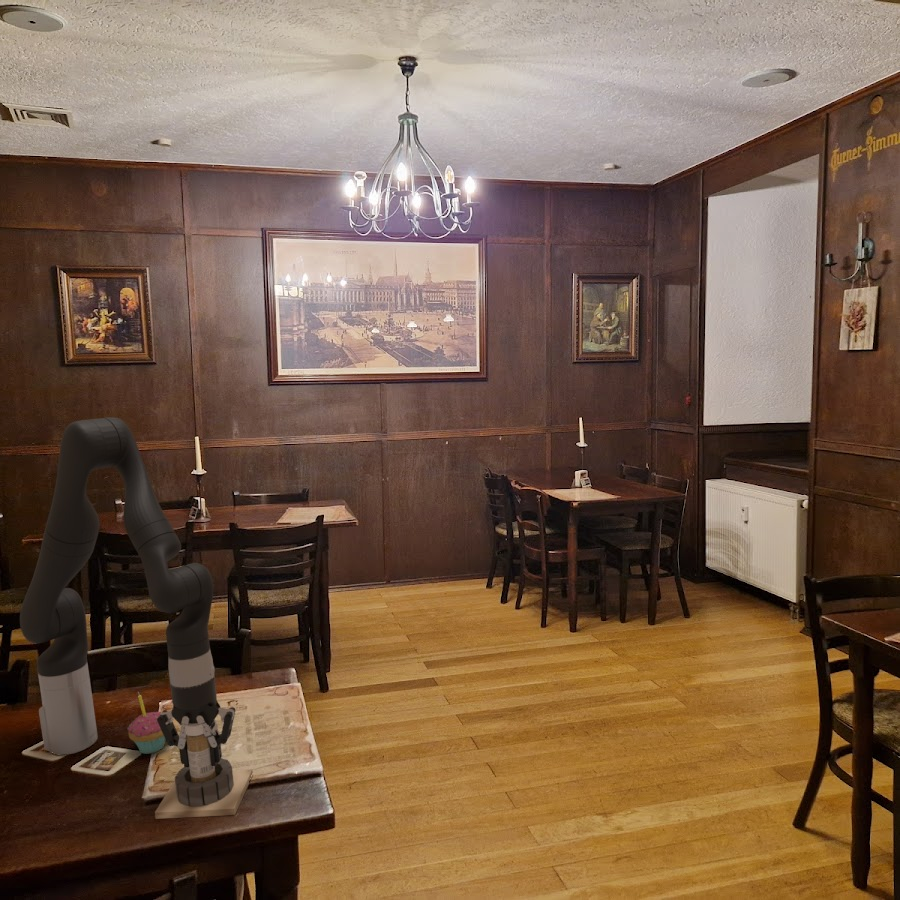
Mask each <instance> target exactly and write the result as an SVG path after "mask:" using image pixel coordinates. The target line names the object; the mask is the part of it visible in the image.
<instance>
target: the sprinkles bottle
mask: <svg viewBox="0 0 900 900" xmlns="http://www.w3.org/2000/svg"><path fill="white" fill-rule="evenodd" d="M204 727H205V726H204ZM184 728H185V731H186V740H187V751H188V759H189V768H190V775H191V782H192V783H203V782H206V781H209V780H212V779H214V778H215V777H216V773H215V766H212V764H211V755H210V747H211V745H210V743H209V741H208V739H207V738H206V737H205V735H204V733H203V726H202V725H199V724H198V723H189V725H187V726H185V727H184ZM210 728H211V726H210Z"/></svg>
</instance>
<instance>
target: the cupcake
mask: <svg viewBox="0 0 900 900" xmlns="http://www.w3.org/2000/svg"><path fill="white" fill-rule="evenodd" d="M137 694H138V696H137V698H138V702H139V706H140V709H141V715H138V716H137V717H135V718H134V720H132V721H131V723H130V724H128V727H127V731H128V738H129V739H130V740H131V741H133V742H134V743H135V745H136V746H137V748H138V750H139V752H140V753H142V754H144V755H145V754H148V755H150V754H154V753H157V752H159V751H160V749H161V750H162V749H163V748H164V747H165V742H166V739H165V737H164V735H163V733H162V731H161V728H160V726H159V724H158V722H157V718H158V717H159V716H160V714H161V713H162V711H151V712H146V708H145V705H144V704H145V703H144V701H143V697H142V695H141V694H140V692H139V691H137Z"/></svg>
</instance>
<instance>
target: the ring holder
mask: <svg viewBox="0 0 900 900" xmlns="http://www.w3.org/2000/svg"><path fill="white" fill-rule="evenodd" d="M215 773H216V777H215V778H214V779H212V780H209V781H206V782H203V783H192V782H191V775H190V768H189V767H184V766H183V767H181V768H180V770H178V772H177V774H176V775H175V777H174V781H173V783H172V784H171V786H170V788H169V789H168V791H167V792H166V794H165V795H164V797H163V798H162V800H161V802H160V803H159V805H158V807H157V808H156V810H155V811H154V817H155V819H156V820H157V819H158V820H159V819H161V820H162V819H179V818H181V819H182V818H197V817H198V818H201V817H219V816H221V817H222V816H223V817H224V816H235V815H236V813H237V811H238V809H239V807H240V805H241V802H242V800H243V798H244V796H245V793H246V791H247V789H248V787H249V785H250V783H249V780H250V778H251V775H252V773H254V772H253V769H252V768H250V769H233V766H232V764H231V763H230V761H229V760H228V759H225V758H222V757H221V759H220V761H219V763H218V764H217V765H216V766H215ZM251 779H252V778H251Z"/></svg>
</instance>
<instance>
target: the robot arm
mask: <svg viewBox="0 0 900 900" xmlns="http://www.w3.org/2000/svg"><path fill="white" fill-rule="evenodd" d="M143 460H144V459H143V458H142V455H141V451H140V450H139V447H138V444H137V441H136V439H135V437H134V435H133V432H132V431H131V429H130V427H129V425H128V424H127V423H126V422H125V421H124V420H123V419H121V418H119V417H114V416H112V417H101V418H91V419H82V420H81V419H80V420H77V421H73V422H71V423H69V424H68V425H67V426H66V428H65V429H64V431H63V434H62V437H61V441H60V446H59V454H58V461H57V462H58V464H57V465H58V466H57V473H56V480H55V486H54V492H53V496H52V500H51V506H50V510H49V514H48V516H47V521H46V523H45V529H44V532H43V536H42V541H41V547H40V551H39V556H38V558H37V562H36V566H35V570H34V573H33V577H32V579H31V582H30V584H29V586H28V589H27V592H26V594H25V597H24V599H23V602H22V603H21V604H22V606H21V609H20V614H19V627H20V629H21V630H20V631H21V633H22V636H24V638H25V639H26V640H27V641H28V642H29V643H32V644H41V643H42V644H43V643H46V642H49V641H53V642H52V643H51V645H49V647H47V649H45V650H44V651H43V652H42V653H41V654H40V655H39V656H38V658H37V660H36V669H37V675H38V683H39V687H40V688H39V690H40V697H41V703H42V706H41V707H39V709H38V714H39V722H40V729H41V734H42V741H43V747H44V751H45V750H48V751H51V752H53V753H55V754H67V755H72V754H77V753H79V752H81V751H84V750H86V749H87V748H90V747H91V746H92V745H94V744H95V743H97V740H98V739H99V738H98V729H97V722H96V715H95V714H96V713H95V707H94V700H93V693H92V685H91V677H90V671H89V665H88V658H87V655H88V650H89V642H88V629H87V617H86V610H85V605H84V603H83V599H82V597H81V596H80V594H79V593H78V592H77V591H76V590H74V589H73V588H70V587H67V585H68V584H69V583H70V582H71V581H72V580H73V579H74V578H75V576H76V575H78V573H79V572H80V571H81V570H82V568H83V567H84V566H85V565H86V563H87V562H88V561H89V560H90V558H91V556H92V554H93V552H94V550H95V546H96V543H97V539H98V537H99V532H100V526H101V525H100V524H101V523H100V518H99V516H98V513H97V511H96V509H95V507H94V505H93V504H92V502H91V501H90V499H89V497H88V494H87V484H88V479H89V477H90V474H91V473H92V472H93V471H96V470H102V469H107V468H113V467H114V468H115V469H116V470H117V472H118V473H119V476H120V477H121V478H122V480H123V484H124V505H123V524H124V528H125V530H126V531H125V532H126V533H127V536H128V537H129V540H130V541H131V543H132V545H133V547H134V549H135V550H136V552H137V554H138V556H139V557H140V560H141V562H142V568H143V571H144V575H145V578H146V579H145V580H146V585H147V590H148V594H149V598H150V601H151V602H152V604H153V605H154V606H155V608H156V609H158V610H159V611H161V612H162V613H165V614H172V613H176V612H179V611H181V610H182V611H181V613H180V614H179V615H178V616H177V617H176V618H175V619H173V620H172V621H171V622H170V623H168V625H167V627H166V629H165V637H166V639H165V640H166V647H167V654H168V667H167V668H168V674H169V675H168V677H169V684H170V693H171V694H170V695H171V700H172V701H171V702H172V708H171V710H166V709H165V710H162V711H161V714H160V716H159V717H158V718H157V722H158V724H159V726H160V728H161V731H162V733H163V735H164V737H165V742H166V745H167V746H169V747H177V748H178V749H179V759H180V763H181V764H182V765H183V767H189V759H188V751H187V740H186V731H185V728H184V727H185V726H187V725H189V723H198V724H199V725H202V726H203V733H204V735H205V737H206V738H207V739H208V741H209V743H210V745H211V747H210V755H211V764H212V766H216V765H217V764H218V763H219V761H220V759H221V758H222V756H223V753H222V752H223V751H222V744H223V745H225V744H227V742H228V739H229V738H230V736H231V733H232V729H233V724H234V719H235V716H236V715H235V714H236V708H235V707H233V706H231V707H229V708H224V707H221V705H220V703H219V702H218V698H217V687H216V678H215V665H214V662H213V661H214V660H213V656H212V653H211V652H212V651H211V645H210V637H209V636H210V635H209V629H208V628H209V627H208V626H209V621H210V617H211V609H212V604H213V603H212V602H213V596H214V581H213V577H212V574H211V572H210V571H209V569H208V568H207V567H206V566H205V565H203V564H201V563H199V562H192V563H189V564H185V565H183V566H179V567H176V568H173V569H170V568H169V566H168V562H169V561H171V560H173V559H174V558H175V557H176V556H177V555H178V554H179V553H180V552H181V549H182V544H181V542H180V541H181V540H180V539H179V536H178V535H177V533H176V532H175V530H174V528H173V527H172V524H171V523H170V521H169V519H168V518H167V516H166V514H165V513H164V511H163V509H162V507H161V505H160V502H159V500H158V499H157V496H156V494H155V491H154V488H153V486H152V482H151V480H150V477H149V474H148V471H147V468H146V466H145V463H144V461H143ZM218 716H220V720H221V722H222V723H223V724H222V729H221V733H220V731H219V728H218V723H217V721H216V718H217V717H218ZM174 720H175V721H176V722H177V723H178V724H179V725H180V730H179V733H178V730H177V728H176V725H175V723H174V722H173V721H174ZM204 726H205V727H204ZM210 726H211V728H210ZM51 752H50V753H51ZM55 754H54V755H55Z"/></svg>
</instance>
